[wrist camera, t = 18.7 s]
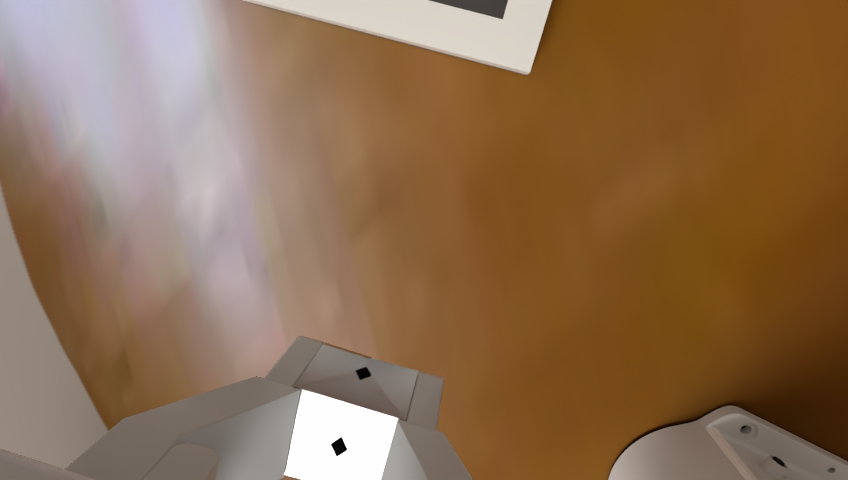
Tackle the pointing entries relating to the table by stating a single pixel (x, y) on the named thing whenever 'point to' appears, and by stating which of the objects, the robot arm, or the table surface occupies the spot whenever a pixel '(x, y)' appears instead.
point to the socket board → (440, 25)
